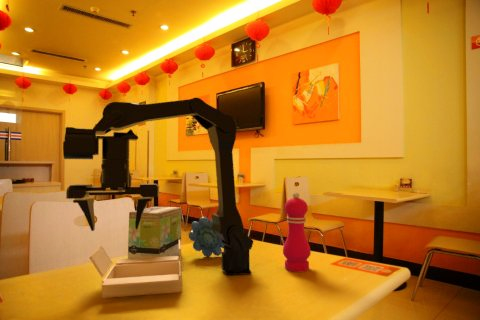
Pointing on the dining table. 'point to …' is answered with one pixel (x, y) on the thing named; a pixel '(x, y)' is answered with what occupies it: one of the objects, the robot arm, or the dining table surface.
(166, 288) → the carton
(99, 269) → the flap
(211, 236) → the blue succulent rosette
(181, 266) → the flap
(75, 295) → the dining table surface
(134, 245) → the tea box
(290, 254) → the pepper mill
